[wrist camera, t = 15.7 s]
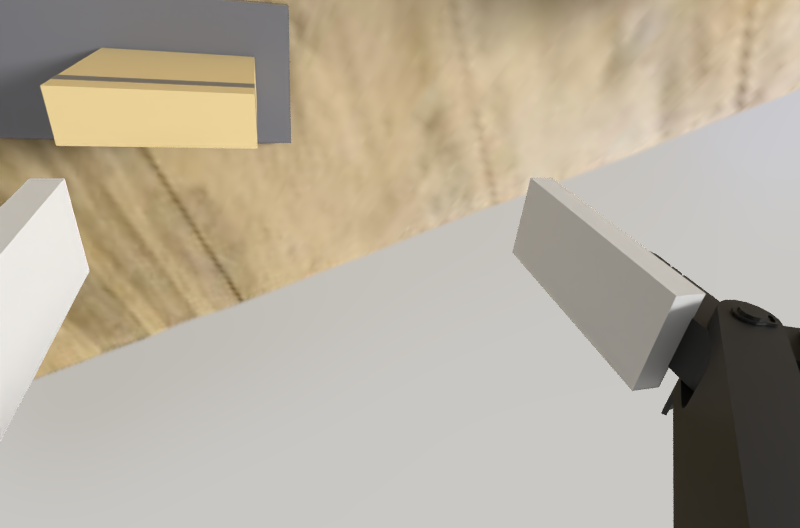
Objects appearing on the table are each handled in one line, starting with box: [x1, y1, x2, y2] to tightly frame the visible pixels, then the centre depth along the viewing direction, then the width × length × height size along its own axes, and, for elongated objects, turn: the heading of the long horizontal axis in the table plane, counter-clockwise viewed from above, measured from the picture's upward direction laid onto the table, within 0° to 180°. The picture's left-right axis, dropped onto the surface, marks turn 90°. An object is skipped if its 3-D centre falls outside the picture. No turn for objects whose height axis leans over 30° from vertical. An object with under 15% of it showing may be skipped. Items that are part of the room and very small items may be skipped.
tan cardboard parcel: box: [40, 48, 258, 149], centre depth 31 cm, size 10×3×12 cm, turn 84°
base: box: [0, 0, 291, 143], centre depth 34 cm, size 36×10×2 cm, turn 84°
